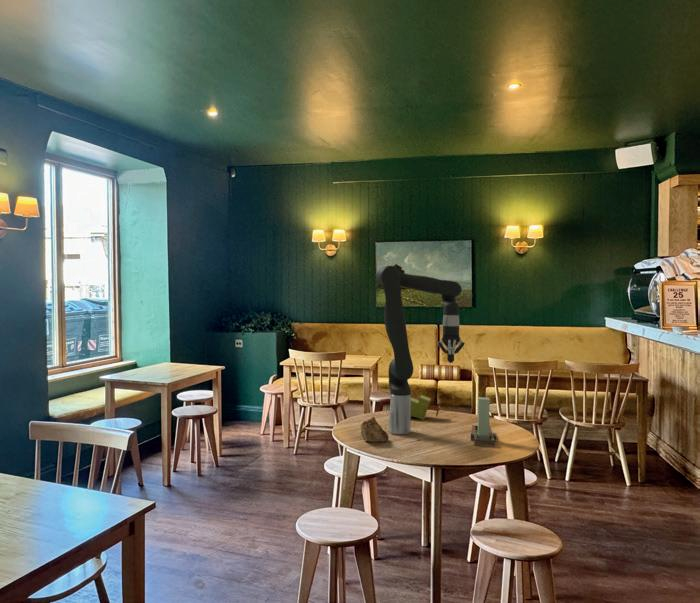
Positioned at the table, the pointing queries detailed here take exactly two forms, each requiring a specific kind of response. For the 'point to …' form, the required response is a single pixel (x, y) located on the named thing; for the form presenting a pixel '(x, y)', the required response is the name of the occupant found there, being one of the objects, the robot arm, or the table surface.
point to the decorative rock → (373, 431)
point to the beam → (483, 442)
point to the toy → (421, 407)
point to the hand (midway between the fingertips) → (450, 362)
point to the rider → (483, 418)
